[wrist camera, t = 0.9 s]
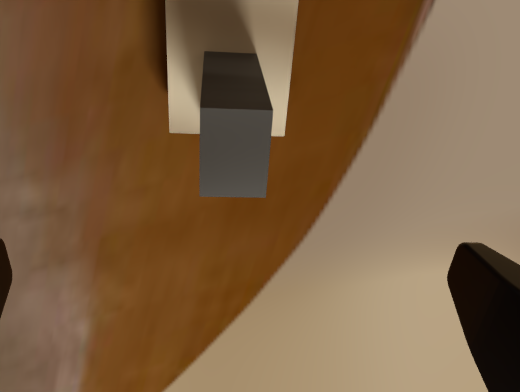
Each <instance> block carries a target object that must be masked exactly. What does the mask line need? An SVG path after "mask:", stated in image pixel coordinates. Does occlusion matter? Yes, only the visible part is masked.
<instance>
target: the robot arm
mask: <svg viewBox="0 0 520 392" xmlns="http://www.w3.org/2000/svg"><path fill="white" fill-rule="evenodd" d="M447 281H448V286H449V289H450V292H451V295H452V298H453V301H454V304H455V307H456V310H457V313H458V316H459V319H460V323H461V326H462V328H463V332H464V335H465V338H466V340H467V343H468V346H469V349H470V351H471V354H472V356H473V358H474V361H475V363H476V365H477V367H478V369H479V372H480V374H481V376H482V378H483V381H484V383H485V385H486V387H487V389H488V392H520V265H519V264H517V263H515V262H514V261H512V260H510V259H508V258H507V257H505V256H503V255H501V254H499V253H498V252H496V251H494V250H493V249H491V248H489V247H487V246H486V245H484V244H482V243H467V242H466V243H465V242H464V243H461V244H459V246H458V247H457V249H456V252H455V254H454V257H453V260H452V263H451V266H450V268H449V271H448V276H447ZM11 283H12V269H11V265H10V261H9V258H8V254H7V250H6V247H5V244H4V241H3V240H2V239H1V238H0V318H1V315H2V311H3V308H4V305H5V302H6V299H7V296H8V293H9V289H10V286H11Z"/></svg>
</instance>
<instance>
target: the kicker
mask: <svg viewBox="0 0 520 392" xmlns="http://www.w3.org/2000/svg"><path fill="white" fill-rule="evenodd" d="M298 1H299V0H165V10H166V41H167V71H168V101H169V132H170V133H193V134H200V196H204V197H264V198H266V188H267V177H268V165H269V154H270V143H271V136H284V135H285V125H286V115H287V106H288V96H289V87H290V77H291V68H292V58H293V48H294V39H295V29H296V20H297V10H298Z"/></svg>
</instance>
